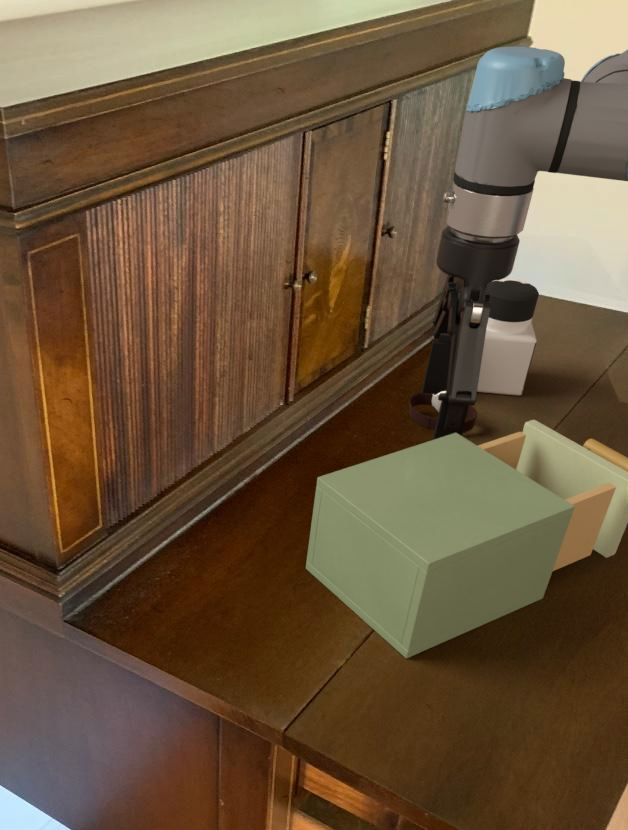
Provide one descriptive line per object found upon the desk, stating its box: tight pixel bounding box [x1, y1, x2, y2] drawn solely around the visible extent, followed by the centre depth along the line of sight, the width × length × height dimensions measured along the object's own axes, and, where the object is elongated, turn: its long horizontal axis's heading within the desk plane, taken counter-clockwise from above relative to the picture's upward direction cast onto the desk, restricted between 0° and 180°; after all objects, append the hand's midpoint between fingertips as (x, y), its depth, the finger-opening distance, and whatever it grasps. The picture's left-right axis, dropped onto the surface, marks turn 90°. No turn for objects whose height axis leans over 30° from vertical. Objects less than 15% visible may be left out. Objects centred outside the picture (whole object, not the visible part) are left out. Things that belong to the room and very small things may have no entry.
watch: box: [408, 391, 478, 434], centre depth 103 cm, size 8×5×4 cm, turn 58°
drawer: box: [477, 419, 628, 572], centre depth 84 cm, size 21×12×8 cm, turn 120°
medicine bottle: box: [477, 277, 540, 397], centre depth 109 cm, size 7×7×12 cm
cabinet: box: [305, 433, 575, 659], centre depth 79 cm, size 16×14×10 cm
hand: (438, 422), depth 104 cm, fingers open, 13 cm apart
